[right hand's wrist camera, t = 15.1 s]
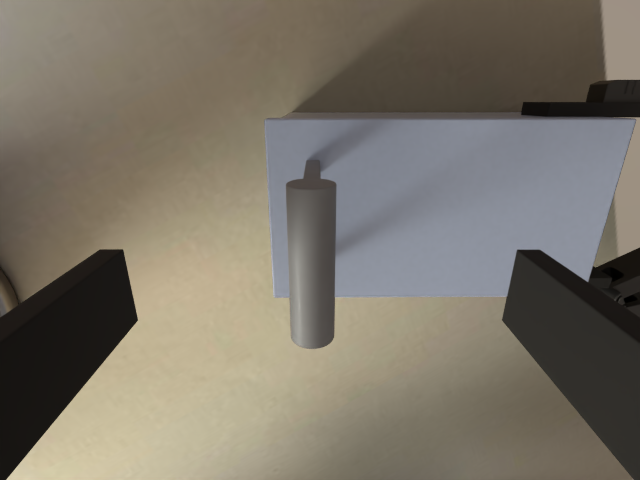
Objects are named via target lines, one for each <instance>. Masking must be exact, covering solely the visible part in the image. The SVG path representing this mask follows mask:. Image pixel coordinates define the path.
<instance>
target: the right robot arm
mask: <svg viewBox="0 0 640 480" xmlns="http://www.w3.org/2000/svg"><path fill="white" fill-rule="evenodd" d="M137 321H138V318H137V314H136V309H135V304H134V299H133V295H132V290H131V285H130V280H129V276H128V271H127V266H126V261H125V257H124V252H123V250H99V251H97V252H96V253H94V254H93V255H91V256H90V257H88V258H87V259H85V260H84V261H83V262H81V263H80V264H78V265H77V266H75V267H74V268H72V269H71V270H69V271H68V272H66V273H65V274H63V275H62V276H60V277H59V278H57V279H56V280H55V281H53V282H52V283H50V284H49V285H47V286H46V287H44V288H43V289H41V290H40V291H38V292H37V293H35V294H34V295H32V296H31V297H30V298H28V299H27V300H25V301H24V302H22V303H21V304H19V305H18V302H17V298H16V295H15V293H14V290H13V288H12V286H11V284H10V283H9V281H8V279H7V278H6V276H5V275H4V274H3V272H2V271H1V269H0V480H6V479H7V478H8V477H9V475H10V474H11V473H12V472H13V471H14V469H15V468H16V467H17V466H18V465H19V463H20V462H21V461H22V460H23V459H24V457H25V456H26V455H27V454H28V452H29V451H30V450H31V449H32V448H33V446H34V445H35V444H36V443H37V442H38V440H39V439H40V438H41V437H42V436H43V434H44V433H45V432H46V431H47V430H48V428H49V427H50V426H51V425H52V423H53V422H54V421H55V420H56V419H57V417H58V416H59V415H60V414H61V413H62V411H63V410H64V409H65V408H66V407H67V405H68V404H69V403H70V402H71V401H72V399H73V398H74V397H75V396H76V394H77V393H78V392H79V391H80V390H81V388H82V387H83V386H84V385H85V384H86V382H87V381H88V380H89V379H90V378H91V376H92V375H93V374H94V373H95V372H96V370H97V369H98V368H99V367H100V365H101V364H102V363H103V362H104V361H105V359H106V358H107V357H108V356H109V355H110V353H111V352H112V351H113V350H114V349H115V347H116V346H117V345H118V344H119V343H120V341H121V340H122V339H123V338H124V336H125V335H126V334H127V333H128V332H129V330H130V329H131V328H132V327H133V326H134V324H135V323H136V322H137ZM502 321H503V322H504V323H505V324H506V326H507V327H508V328H509V329H510V330H511V332H512V333H513V334H514V335H515V336H516V338H517V339H518V340H519V341H520V343H521V344H522V345H523V346H524V347H525V349H526V350H527V351H528V352H529V353H530V355H531V356H532V357H533V358H534V359H535V361H536V362H537V363H538V364H539V365H540V367H541V368H542V369H543V370H544V372H545V373H546V374H547V375H548V376H549V378H550V379H551V380H552V381H553V382H554V384H555V385H556V386H557V387H558V388H559V390H560V391H561V392H562V393H563V394H564V396H565V397H566V398H567V399H568V401H569V402H570V403H571V404H572V405H573V407H574V408H575V409H576V410H577V411H578V413H579V414H580V415H581V416H582V417H583V419H584V420H585V421H586V422H587V423H588V425H589V426H590V427H591V428H592V430H593V431H594V432H595V433H596V434H597V436H598V437H599V438H600V439H601V440H602V442H603V443H604V444H605V445H606V446H607V448H608V449H609V450H610V451H611V452H612V454H613V455H614V456H615V457H616V459H617V460H618V461H619V462H620V463H621V465H622V466H623V467H624V468H625V469H626V471H627V472H628V473H629V474H630V475H631V477H632V478H633V479H634V480H640V317H638V316H637V315H636V314H634V313H633V312H631V311H630V310H628V309H627V308H625V307H624V306H622V305H621V304H619V303H618V302H616V301H615V300H613V299H612V298H610V297H609V296H608V295H606V294H605V293H603V292H602V291H600V290H599V289H597V288H596V287H594V286H593V285H591V284H590V283H588V282H587V281H585V280H584V279H583V278H581V277H580V276H578V275H577V274H575V273H574V272H572V271H571V270H569V269H568V268H566V267H565V266H563V265H562V264H560V263H559V262H557V261H556V260H555V259H553V258H552V257H550V256H549V255H547V254H546V253H544V252H543V251H541V250H517V252H516V257H515V261H514V266H513V271H512V276H511V280H510V285H509V290H508V295H507V299H506V304H505V309H504V314H503V318H502Z"/></svg>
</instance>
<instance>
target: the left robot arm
mask: <svg viewBox="0 0 640 480" xmlns="http://www.w3.org/2000/svg"><path fill="white" fill-rule="evenodd" d="M521 115H530V116H543V117H640V80H610V81H599V82H596V83H594V84H591V85H590V88H589V92H588V96H587V100H586V102H523V107H522V112H521ZM588 283H590V284H591V285H593V286H594V287H596V288H597V289H599V290H600V291H602V292H603V293H605V294H606V295H608V296H609V297H610V298H612V299H613V300H615V301H616V302H618V303H619V304H621V305H622V306H624V307H625V308H627V309H628V310H630V311H631V312H633V313H634V314H636V315H637V316H638V317H640V248H638V249H636V250H633V251H631V252H629V253H627V254H625V255H622V256H620V257H618V258H616V259H614V260H611V261H609V262H607V263H605V264H603V265H600V266H598V267H596V268H595V267H592V271H591V274H590V278H589V281H588Z"/></svg>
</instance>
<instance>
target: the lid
mask: <svg viewBox="0 0 640 480" xmlns="http://www.w3.org/2000/svg"><path fill="white" fill-rule="evenodd" d="M264 123H265V142H266V161H267V180H268V199H269V218H270V237H271V256H272V275H273V294H274V297H275V298H282V297H290V323H291V338H292V340H293V342H294V343H295V344H296V345H298V346H300V347H303V348H307V349H317V348H322V347H324V346H326V345H328V344H329V343H331V341H332V340H333V338H334V314H335V297H507V295H508V290H509V285H510V280H511V276H512V271H513V266H514V261H515V257H516V252H517V250H541V251H543V252H544V253H546V254H547V255H549V256H550V257H552V258H553V259H555V260H556V261H557V262H559V263H560V264H562V265H563V266H565V267H566V268H568V269H569V270H571V271H572V272H574V273H575V274H577V275H578V276H580V277H581V278H583V279H584V280H585V281H587V282H588V281H589V278H590V274H591V271H592V267H593V264H594V261H595V257H596V254H597V251H598V247H599V244H600V240H601V237H602V234H603V230H604V227H605V224H606V220H607V217H608V214H609V210H610V207H611V203H612V200H613V197H614V193H615V190H616V187H617V183H618V180H619V176H620V173H621V170H622V166H623V163H624V160H625V156H626V153H627V150H628V146H629V143H630V140H631V136H632V133H633V129H634V126H635V123H636V119H631V118H267V119H265V120H264Z"/></svg>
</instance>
